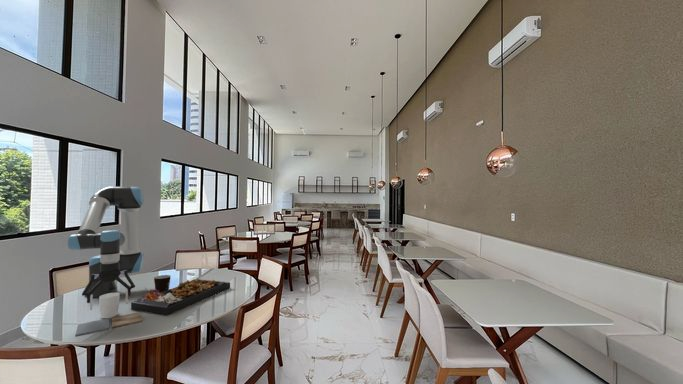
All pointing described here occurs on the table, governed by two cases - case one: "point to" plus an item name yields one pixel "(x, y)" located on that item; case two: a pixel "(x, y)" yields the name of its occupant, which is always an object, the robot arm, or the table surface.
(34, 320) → the table surface
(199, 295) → the food platter
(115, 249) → the robot arm
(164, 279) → the coffee mug
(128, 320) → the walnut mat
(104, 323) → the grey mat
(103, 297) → the white cup
